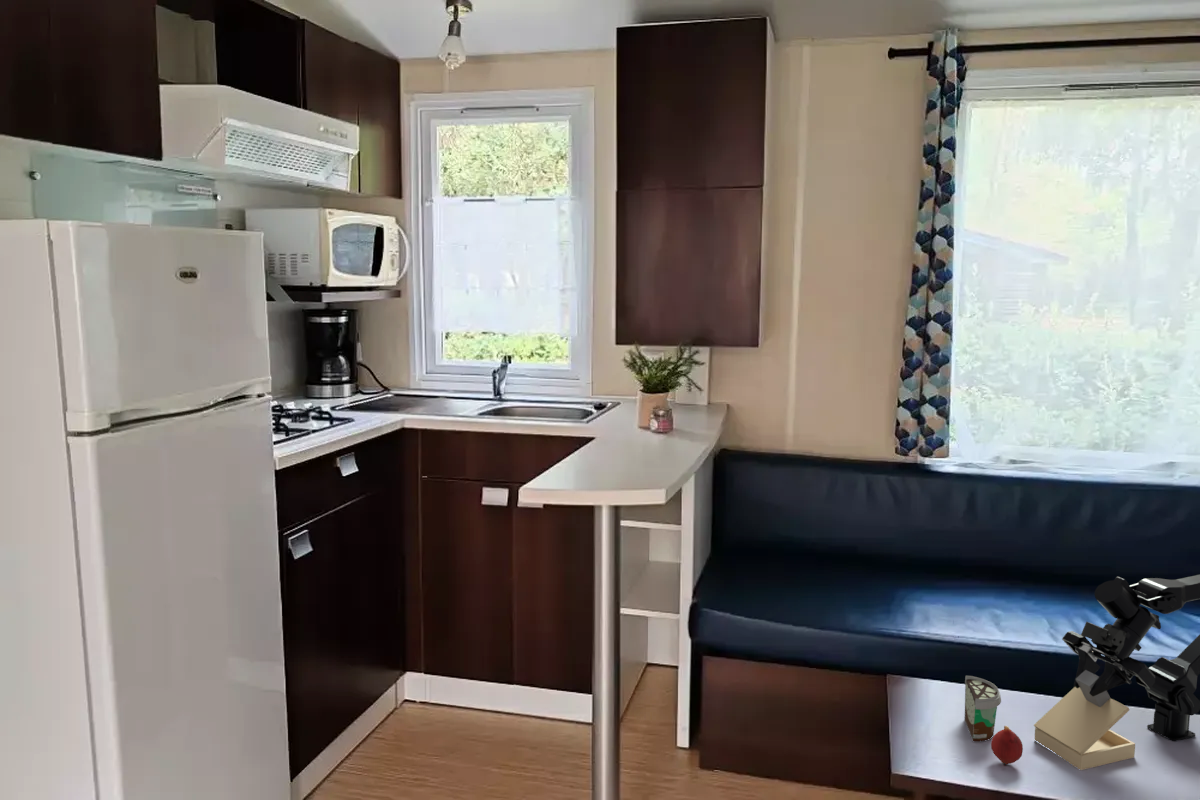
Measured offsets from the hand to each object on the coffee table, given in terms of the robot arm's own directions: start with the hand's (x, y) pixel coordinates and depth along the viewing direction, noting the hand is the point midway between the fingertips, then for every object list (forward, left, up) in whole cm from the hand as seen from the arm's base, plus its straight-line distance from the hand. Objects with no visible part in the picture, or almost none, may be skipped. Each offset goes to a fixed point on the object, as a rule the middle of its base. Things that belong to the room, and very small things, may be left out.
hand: (1083, 690), depth 188 cm
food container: (+13, -13, -13) cm, 23 cm away
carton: (-1, 0, -13) cm, 13 cm away
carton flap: (0, 0, -6) cm, 6 cm away
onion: (+18, -1, -13) cm, 22 cm away
